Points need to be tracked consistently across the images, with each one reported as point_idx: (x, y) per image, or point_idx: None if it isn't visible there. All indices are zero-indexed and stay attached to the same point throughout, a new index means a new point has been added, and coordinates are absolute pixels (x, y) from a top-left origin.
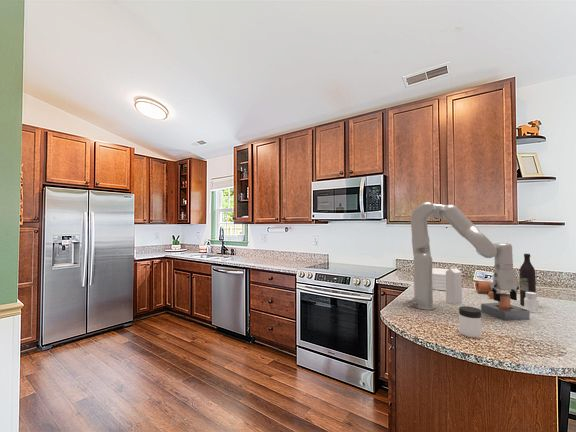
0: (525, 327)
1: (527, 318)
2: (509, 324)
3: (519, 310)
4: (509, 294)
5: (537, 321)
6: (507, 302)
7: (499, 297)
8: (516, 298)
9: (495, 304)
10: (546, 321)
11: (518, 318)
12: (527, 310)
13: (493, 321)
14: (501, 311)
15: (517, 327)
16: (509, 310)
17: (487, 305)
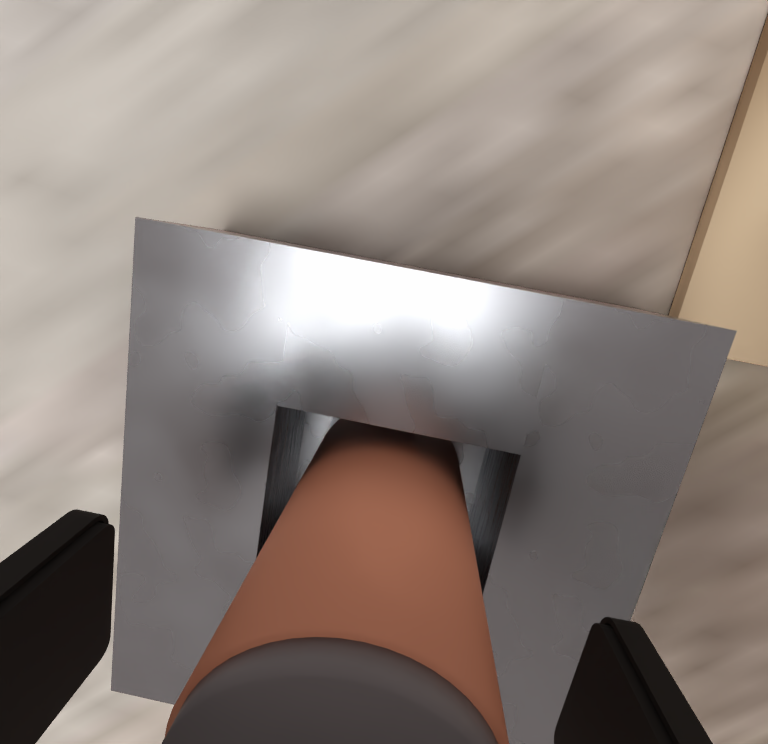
0: (597, 41)
1: (246, 235)
2: (678, 220)
3: (333, 287)
4: (180, 728)
5: (149, 169)
6: (411, 523)
7: (677, 719)
8: (51, 533)
9: None
10: (25, 125)
11: (405, 265)
12: (173, 232)
13: (754, 387)
14: (701, 398)
15: (715, 83)
16: (528, 358)
17: None
